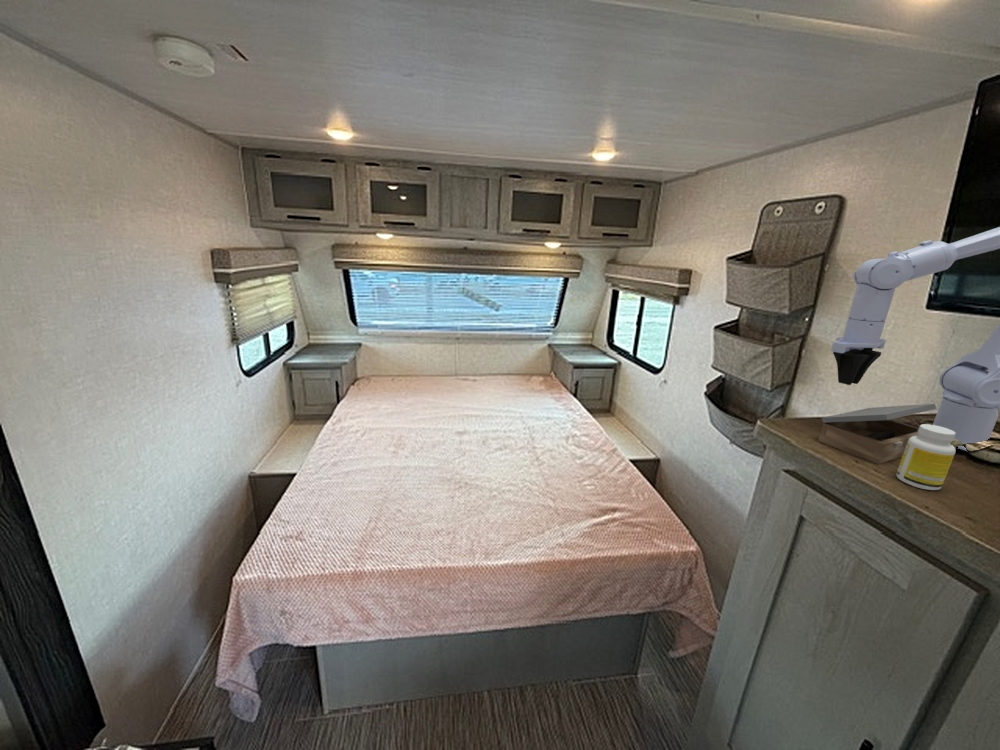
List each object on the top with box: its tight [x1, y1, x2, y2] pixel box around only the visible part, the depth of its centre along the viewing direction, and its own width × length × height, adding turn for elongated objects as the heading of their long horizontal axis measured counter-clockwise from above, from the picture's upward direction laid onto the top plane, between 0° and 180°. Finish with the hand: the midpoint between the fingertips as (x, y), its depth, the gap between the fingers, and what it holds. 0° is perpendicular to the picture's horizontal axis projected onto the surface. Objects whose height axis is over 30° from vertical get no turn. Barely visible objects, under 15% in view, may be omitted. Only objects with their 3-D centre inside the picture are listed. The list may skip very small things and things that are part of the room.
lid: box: [821, 403, 937, 424], centre depth 78 cm, size 16×10×1 cm, turn 112°
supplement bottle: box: [895, 423, 957, 491], centre depth 65 cm, size 5×5×10 cm
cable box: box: [817, 419, 919, 465], centre depth 79 cm, size 16×10×4 cm, turn 112°
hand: (847, 383), depth 85 cm, fingers closed
